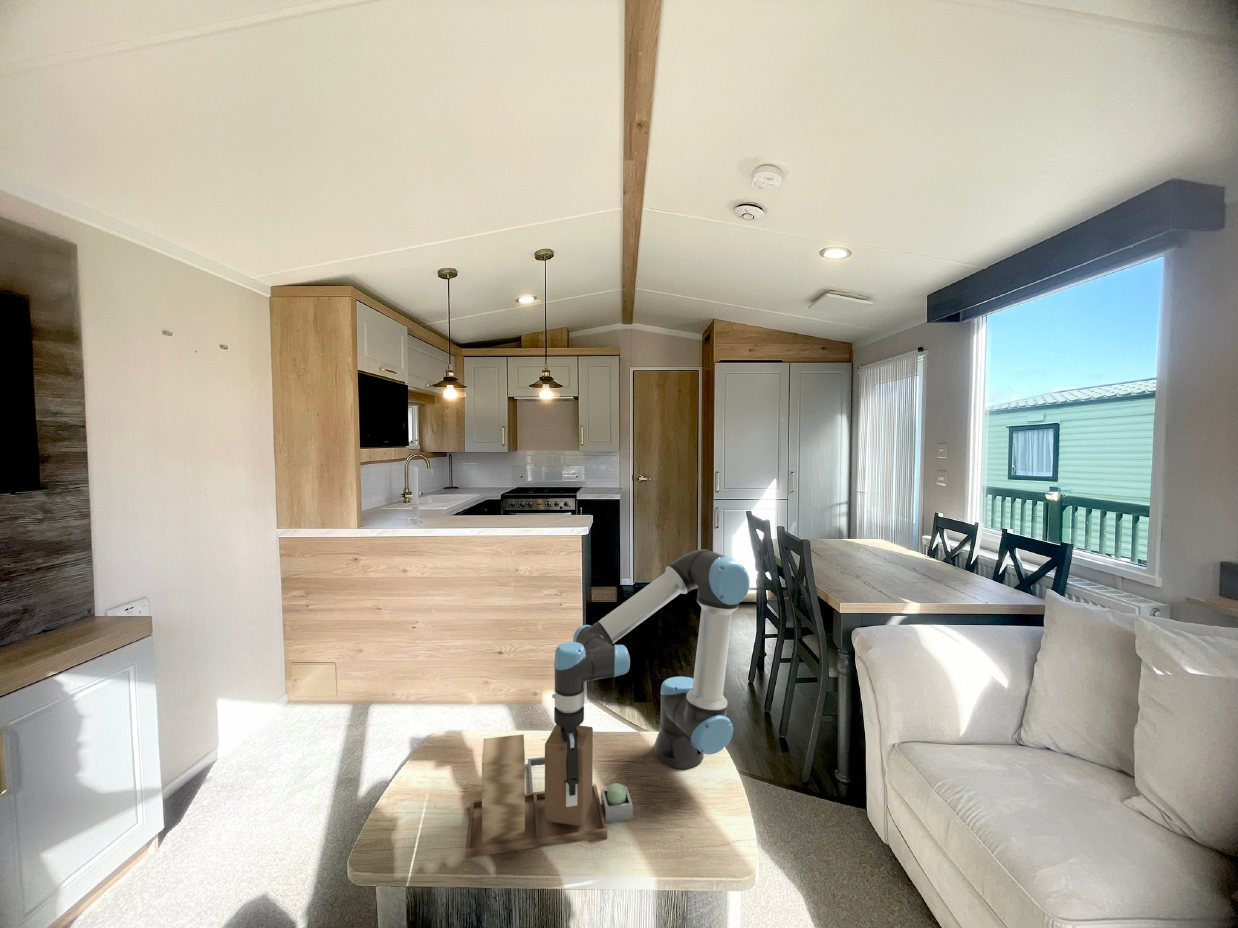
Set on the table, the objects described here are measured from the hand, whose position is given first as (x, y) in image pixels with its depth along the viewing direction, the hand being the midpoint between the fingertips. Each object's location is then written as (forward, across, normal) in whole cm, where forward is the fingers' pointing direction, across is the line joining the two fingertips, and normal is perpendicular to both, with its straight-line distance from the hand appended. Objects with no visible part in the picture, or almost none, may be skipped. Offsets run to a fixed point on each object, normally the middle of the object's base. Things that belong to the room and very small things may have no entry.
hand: (568, 787), depth 133 cm
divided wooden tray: (+8, 0, -8) cm, 12 cm away
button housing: (+8, 0, +13) cm, 15 cm away
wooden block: (+6, 0, 0) cm, 6 cm away
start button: (+6, 0, +13) cm, 14 cm away
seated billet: (+8, 0, -16) cm, 18 cm away
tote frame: (+8, -16, -2) cm, 19 cm away
